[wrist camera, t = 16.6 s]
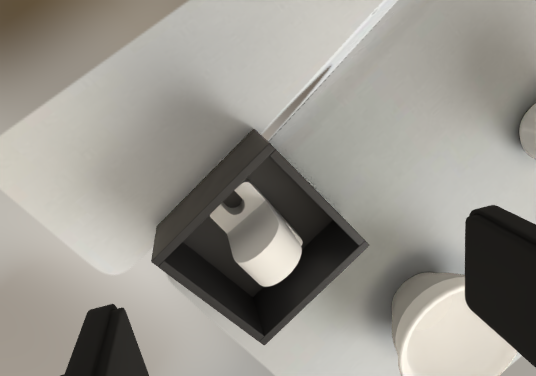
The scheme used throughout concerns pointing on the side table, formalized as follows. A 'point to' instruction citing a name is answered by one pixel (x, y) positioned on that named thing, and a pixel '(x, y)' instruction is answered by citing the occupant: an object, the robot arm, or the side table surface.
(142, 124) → the side table surface
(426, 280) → the bowl
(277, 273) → the cable organizer
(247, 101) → the side table surface
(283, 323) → the basket
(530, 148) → the mug
